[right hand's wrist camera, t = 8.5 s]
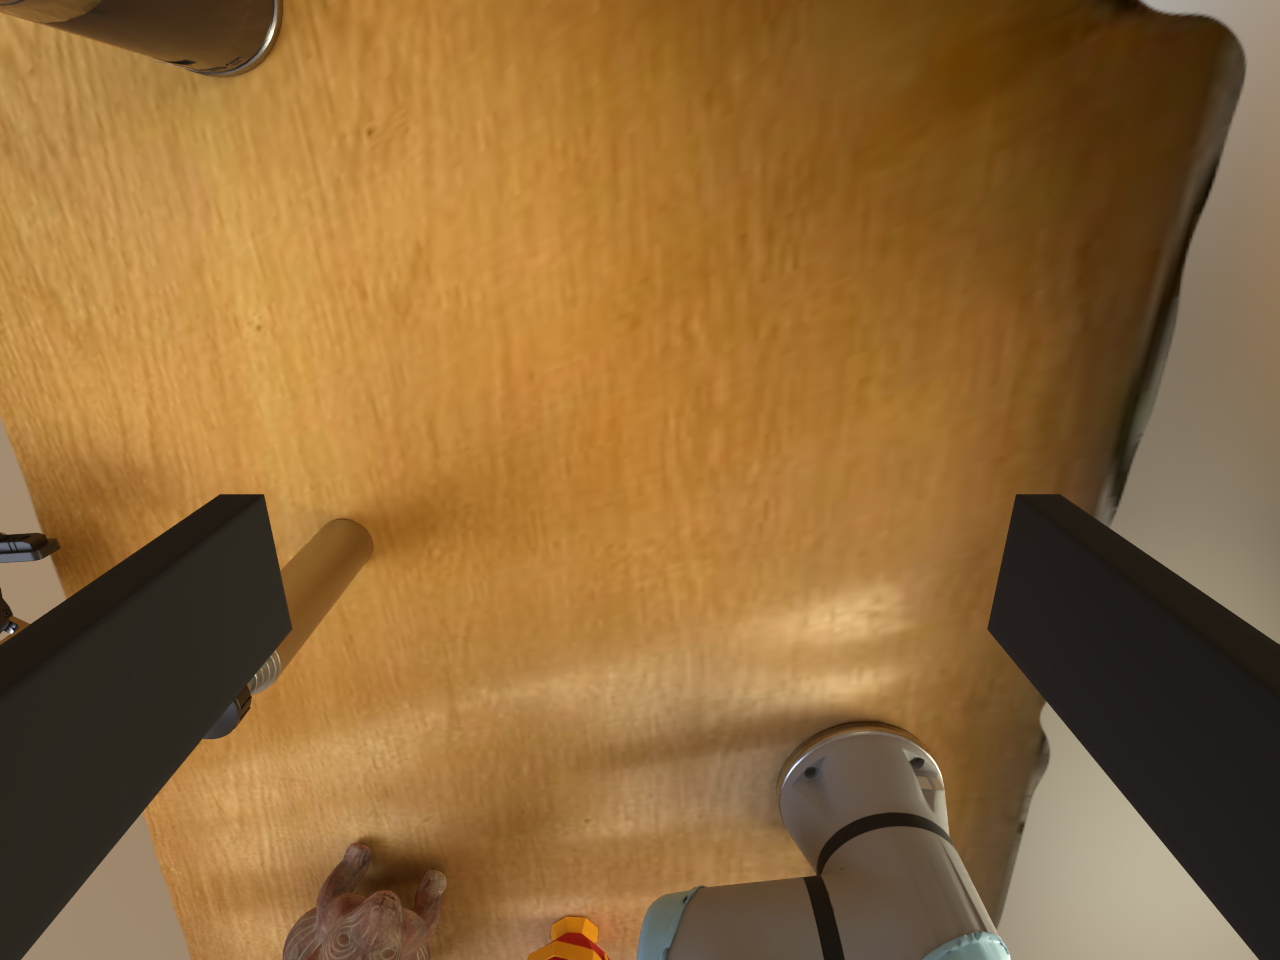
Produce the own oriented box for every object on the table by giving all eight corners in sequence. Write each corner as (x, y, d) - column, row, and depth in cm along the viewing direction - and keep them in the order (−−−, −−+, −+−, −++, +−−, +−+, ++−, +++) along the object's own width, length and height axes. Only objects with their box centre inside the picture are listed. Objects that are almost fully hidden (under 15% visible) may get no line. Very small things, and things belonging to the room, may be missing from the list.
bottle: (309, 546, 58) (151, 711, 39) (336, 508, 56) (185, 659, 38) (355, 576, 59) (223, 750, 40) (383, 539, 57) (259, 701, 39)
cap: (168, 697, 40) (151, 715, 39) (199, 651, 39) (183, 668, 37) (231, 732, 41) (217, 751, 40) (264, 689, 40) (250, 706, 38)
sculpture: (482, 813, 68) (442, 970, 54) (421, 973, 77) (373, 1144, 63) (341, 775, 66) (262, 927, 52) (295, 943, 75) (216, 1112, 61)
